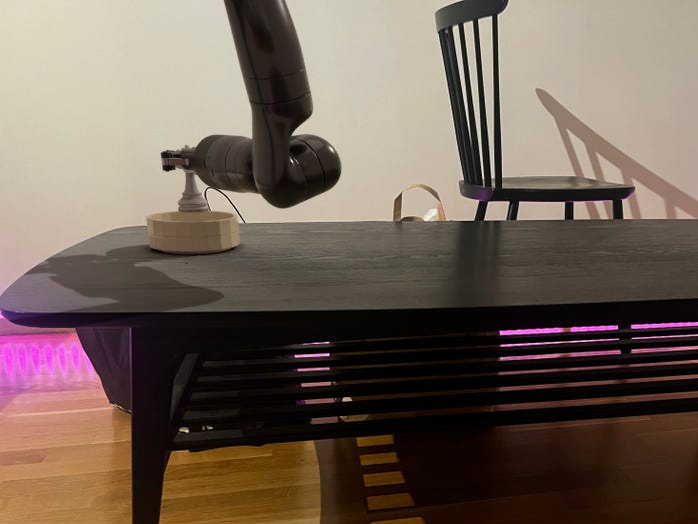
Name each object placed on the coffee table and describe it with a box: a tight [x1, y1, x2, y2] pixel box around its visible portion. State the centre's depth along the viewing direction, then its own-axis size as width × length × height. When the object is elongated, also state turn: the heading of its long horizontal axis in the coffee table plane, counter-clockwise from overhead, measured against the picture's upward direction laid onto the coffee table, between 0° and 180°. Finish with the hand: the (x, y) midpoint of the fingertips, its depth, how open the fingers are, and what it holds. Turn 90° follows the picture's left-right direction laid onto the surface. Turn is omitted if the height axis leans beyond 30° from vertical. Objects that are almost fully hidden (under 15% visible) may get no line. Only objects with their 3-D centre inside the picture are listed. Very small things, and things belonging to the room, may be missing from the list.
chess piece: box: [177, 144, 210, 214], centre depth 107 cm, size 4×4×10 cm
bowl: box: [145, 210, 241, 255], centre depth 109 cm, size 13×13×5 cm
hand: (179, 157), depth 108 cm, fingers closed on chess piece, 2 cm apart
